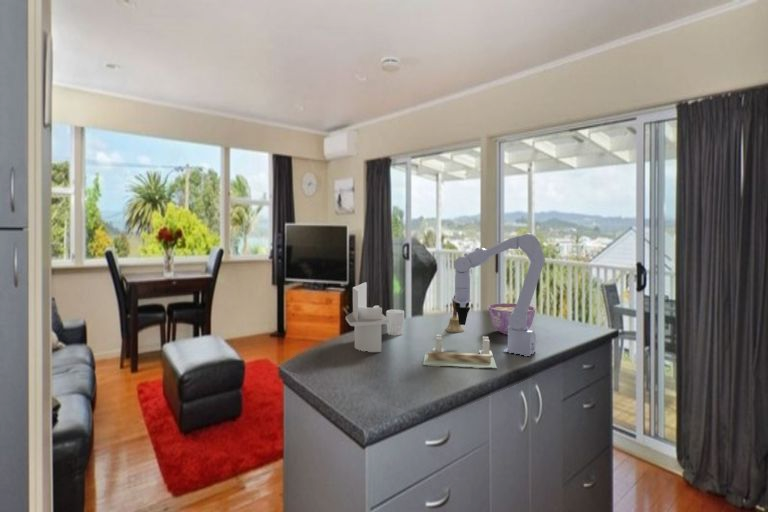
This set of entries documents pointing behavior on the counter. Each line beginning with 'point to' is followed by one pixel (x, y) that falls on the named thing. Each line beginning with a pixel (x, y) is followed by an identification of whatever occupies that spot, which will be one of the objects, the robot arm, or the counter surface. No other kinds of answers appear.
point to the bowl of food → (506, 316)
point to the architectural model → (366, 321)
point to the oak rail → (459, 357)
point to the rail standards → (484, 350)
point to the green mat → (458, 363)
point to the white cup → (395, 322)
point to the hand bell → (454, 321)
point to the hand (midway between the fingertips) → (461, 322)
